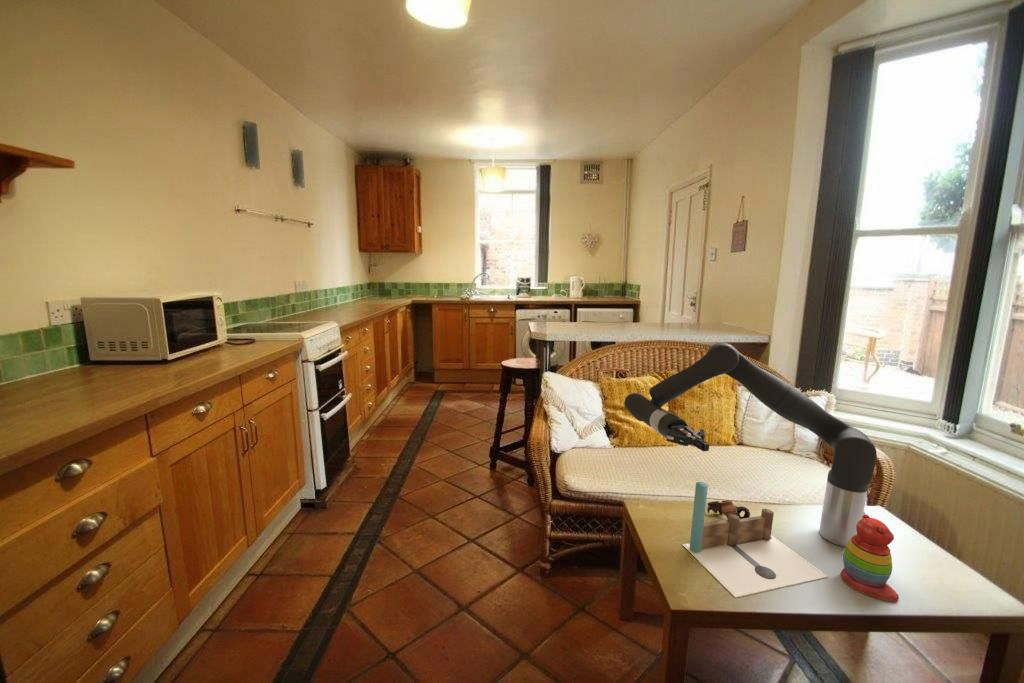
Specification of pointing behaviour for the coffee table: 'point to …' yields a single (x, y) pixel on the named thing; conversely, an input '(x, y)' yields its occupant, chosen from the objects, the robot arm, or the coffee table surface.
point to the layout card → (756, 566)
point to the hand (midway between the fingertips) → (706, 448)
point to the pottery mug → (727, 508)
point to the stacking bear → (869, 560)
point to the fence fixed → (750, 528)
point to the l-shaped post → (706, 524)
